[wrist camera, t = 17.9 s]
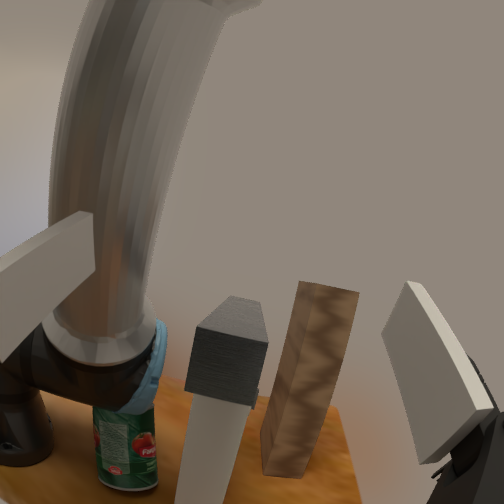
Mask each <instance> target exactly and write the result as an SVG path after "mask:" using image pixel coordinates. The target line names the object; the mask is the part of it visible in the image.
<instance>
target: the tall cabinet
mask: <svg viewBox="0 0 504 504" xmlns="http://www.w3.org/2000/svg"><path fill="white" fill-rule="evenodd" d="M358 298H359V292H355V291H349V290H345V289H340V288H336V287H331V286H326V285H321V284H317V283H310V282H303V281H299V284H298V289H297V292H296V297H295V301H294V306H293V310H292V314H291V319H290V323H289V327H288V331H287V335H286V339H285V343H284V347H283V351H282V355H281V359H280V363H279V367H278V371H277V374H276V378H275V382H274V386H273V389H272V393H271V396H270V400H269V404H268V407H267V411H266V414H265V418H264V421H263V425H262V428H261V431H260V439H261V454H262V468H263V475H267V476H276V477H286V478H299V479H301V478H302V476H303V473H304V471H305V469H306V466H307V464H308V461H309V459H310V456H311V454H312V451H313V449H314V446H315V443H316V441H317V438H318V435H319V433H320V430H321V427H322V424H323V422H324V419H325V416H326V413H327V410H328V407H329V404H330V401H331V398H332V394H333V392H334V388H335V385H336V382H337V379H338V375H339V372H340V368H341V365H342V362H343V358H344V355H345V351H346V347H347V343H348V339H349V336H350V331H351V328H352V323H353V319H354V315H355V311H356V307H357V302H358Z"/></svg>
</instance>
